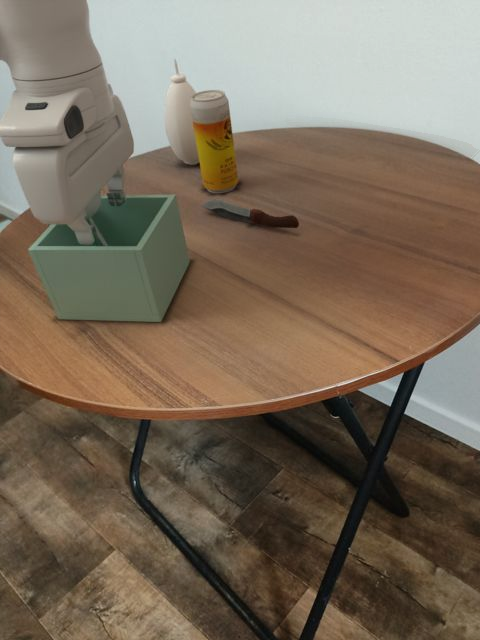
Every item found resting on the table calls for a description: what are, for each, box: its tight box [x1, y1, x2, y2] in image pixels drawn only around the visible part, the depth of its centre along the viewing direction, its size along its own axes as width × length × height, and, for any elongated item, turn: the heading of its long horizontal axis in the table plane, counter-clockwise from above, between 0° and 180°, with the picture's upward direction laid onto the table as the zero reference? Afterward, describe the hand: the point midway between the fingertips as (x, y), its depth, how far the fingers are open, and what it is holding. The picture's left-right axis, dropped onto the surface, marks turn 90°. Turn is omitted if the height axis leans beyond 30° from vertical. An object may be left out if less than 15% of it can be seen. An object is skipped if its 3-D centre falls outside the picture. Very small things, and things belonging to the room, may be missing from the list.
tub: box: [27, 194, 191, 323], centre depth 66 cm, size 14×14×10 cm
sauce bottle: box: [163, 58, 200, 166], centre depth 94 cm, size 8×8×18 cm
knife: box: [200, 198, 300, 229], centre depth 79 cm, size 18×2×3 cm, turn 55°
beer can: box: [190, 89, 239, 194], centre depth 86 cm, size 6×6×15 cm
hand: (104, 221), depth 63 cm, fingers open, 8 cm apart
